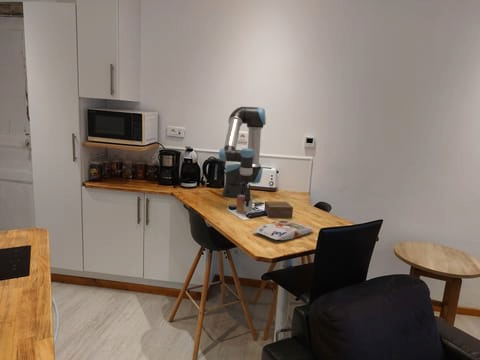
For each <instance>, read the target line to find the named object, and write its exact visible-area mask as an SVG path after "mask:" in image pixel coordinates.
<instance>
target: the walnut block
mask: <svg viewBox="0 0 480 360" xmlns="http://www.w3.org/2000/svg"><path fill="white" fill-rule="evenodd" d="M264 210H265V211H266V213H267V215H266V216H267V218H269V219H287V220H288V219H293V213H294V211H293V210H294V207H293V206H292V205H291V204H290V203H289V202H287V201H264V209H263V211H264Z"/></svg>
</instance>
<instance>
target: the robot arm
mask: <svg viewBox="0 0 480 360" xmlns="http://www.w3.org/2000/svg"><path fill="white" fill-rule="evenodd" d="M266 118H267V117H266V110H265V108H264V107H259V106H257V107H256V106H240V107H237V108H236V109H235V110H234V111H232V112H231V114H230V115H229V118H228V120H227V121H228V129H227V133H226V137H225V142H224V145H223V146H224V147H223V148H220V149H219V151H218V152H219V154H218V159H219V161H222V162H232V163H233V162H234V163H233V164H232V163H231V164H227V165H226V166H225V180H224V181H225V182H224V184H225V185H224V187H223V189H222V193H221V194H222V196H223V197H226V198H234V199H235V198H236V199H237V196H238V195H241V194H242V195H245V200H244V201H245V205H244V212H249V201H251V197H250V196H251V184H260V182H261V181H262V180H261V179H262V175H263V169H264V168H263V167H262V165H261V163H260V155H261V154H260V153H261V135H262V134H261V133H262V129H263V128H264V125H266V124H267V122H266V121H267V120H266ZM243 124H246V128H247V129H248V137H247V138H248V139H247V148H244V147H243V148H241V149H237V144H238V139H239V134H240V130H241V129H240V128H241V126H242V125H243Z"/></svg>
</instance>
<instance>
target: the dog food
mask: <svg viewBox="0 0 480 360" xmlns="http://www.w3.org/2000/svg"><path fill="white" fill-rule="evenodd" d="M314 229H315V228H313V227H310V226H307V225H305V224H301V223H298V222H295V221H292V220H288V219H282V220H276V221H272V222H269V223H266V224H263V225H259V226H258V227H256V228H255V229H252V231H253V232H254V233H257V234H261V235H263V236H265V237H268V238H270V239H272V240H275V241H277V240H279V241H287V240H292V239H297V238H298V237H301V236H304V235H306V234H307V235H308V233H310V232H311V231H313V230H314Z"/></svg>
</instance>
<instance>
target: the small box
mask: <svg viewBox="0 0 480 360" xmlns="http://www.w3.org/2000/svg"><path fill="white" fill-rule="evenodd" d="M250 197H251V201H249V211H251V212H252V207H253V196H252V195H250ZM244 200H245V195H242V194H241V195H238V196H237V198H236V204H235V205H236V209H235V213H238V214H243V215H247V214H246V213H247V212H244V205H245V201H244Z"/></svg>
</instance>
